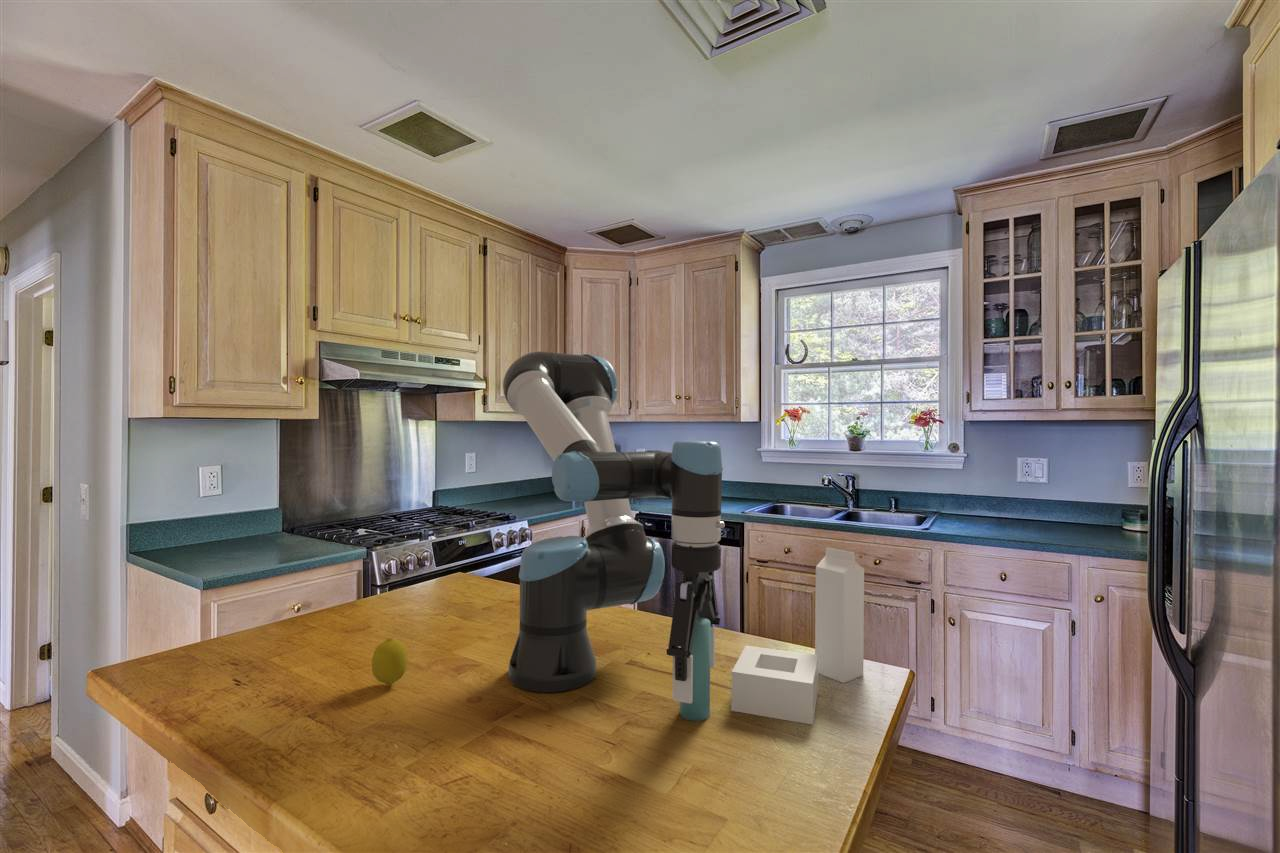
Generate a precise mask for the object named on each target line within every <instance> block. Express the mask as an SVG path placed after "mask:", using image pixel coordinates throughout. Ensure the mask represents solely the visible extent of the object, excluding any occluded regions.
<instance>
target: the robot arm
mask: <svg viewBox="0 0 1280 853" xmlns="http://www.w3.org/2000/svg"><path fill="white" fill-rule="evenodd" d="M617 387H618V380H617V375H616V371H615V370H614V367H613V365H612V364H611V363H610V362H609V361H608V359H606V358H604V357H602V356H595V355H592V354H588V353H587V354H586V353H585V354H573V353H562V352H550V351H549V352H548V351H534V352H529V353H525V354H523V355H522V356H520V357H518V358H517V359H516V360H515V361H513V363H511V364H510V366H509V367H508V369H507V370H506V372H505V374H504V378H503V380H502V389H503V395H504V398H505V400H506V402H507V403H508V405H509V406H510V408H511V410H513V412H515V413H516V414H518V415H521V416H523V418H524V419H525V421H526V422H527V425H529V427H530V429H531V430H532V431H533V433H534V434H535V435H536V436H535V437H537V438H538V441H539V442H540V443H541V444H542V446H543V448H544V449H545V452H547V454H548V455H549V456H550V458H551V460H552V461H553V464H552V468H551V469H552V470H551V481H552V485H553V490H554V492H555V495H556V496H557V498H558V499H560V500H561V501H563V502H579V503H584V507H585V508H584V509H585V512H586V516H587V517H586V518H587V522H588V527H589V531H588V532H587V534H586V536H585V537H582V536H578V535H577V536H576V535H567V536H555V537H554V536H553V537H549V538H545V539H541V540H538V541H535V542H533V543H531V544H529V545H528V546H526V547H525V548H524V549H523V550H522V551H521V552H522V553H521V555H520V566H519V572H518V578H519V632H518V636H517V638H516V642H515V644H514V648H513V650H512V653H511V656H510V660H509V663H508V679H509V682H510V683H511V684H512V685H513V686H515V687H517V688H519V689H522V690H525V691H529V692H534V693H535V692H536V693H559V692H565V691H571V690H574V689H578V688H581V687H583V686H585V685H587V684H589V683H590V682H591V681H593V680H594V679H595V677H596V674H597V661H596V660H597V659H596V655H595V653H594V650H593V647H592V643H591V639H590V636H589V633H588V629H587V613H588V611H591V610H599V609H604V608H605V609H606V608H610V607H618V606H623V605H636V604H637V603H642V602H646V601H649V600H651V599H653V598H654V597H655V596H657V594H658V593H659V591H660V589H661V587H662V584H663V580H664V576H665V569H666V567H665V564H666V563H665V562H666V561H665V555H664V551H663V548H662V545H661V544H660V543H659V542H658V540H657V539H655V538H653V537H650V536H647V535H646V533H645V529H644V525H643V524H642V523H641V522H639V521H637V520H635V519H634V517H633V513H632V509H631V505H630V501H629V499H645V498H646V499H649V498H650V499H651V498H662V499H663V498H665V499H669V500H671V532H670V534H671V535H670V538H671V540H672V541H674V542H673V543H672V544H671V555H670V556H671V558H670V560H671V562H670V564H671V567H672V568H673V569H675V570H677V571H680V572H681V573H682V575H683V576H682V581H680V582H676V584H675V588H674V589H675V591H674V593H675V594H674V605H673V610H672V611H673V612H672V617H671V618H672V619H671V625H670V626H671V628H670V632H669V633H670V634H669V642H668V648H666V655H667V656H670V657H672V701H674V702H678V703H680V702H684V703H690V704H691V703H692V700H693V655H691V649H692V643H693V637H694V632H695V626H696V621H697V617H701V618H706V619H708V620H710V622H711V625H710V669H712V668H715V662H716V661H715V658H716V657H715V656H716V653H715V652H716V648H715V647H716V645H715V644H716V641H715V640H716V625H717V626H720V624H721V618H720V617H719V608H718V601H717V591H716V584H715V572H717V571H718V570H719V569H721V566H722V546H721V545H720V543H718V542H720V541H721V539H722V529H724V528H726V527H725V525H726V524H725V522H724V521H721V518H722V517H721V516H722V488H723V487H722V483H723V481H722V480H723V471H724V469H723V468H724V467H723V463H722V448H721V445H720V444H719V443H718V442H716V441H711V440H709V441H708V440H707V441H705V440H680V441H679V440H678V441H675V442H674V443H673V445H672V450H671V452H669V451H662V450H657V449H656V450H646V451H617V449H616V446H615V441H614V437H613V434H612V430H611V425H610V423H609V422H610V421H609V417H608V416H609V414H610V413H611V411H612V408H613V404H614V403H615V402H616V399H617V396H618V389H617ZM646 536H647V537H646ZM681 647H682V648H681Z"/></svg>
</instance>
